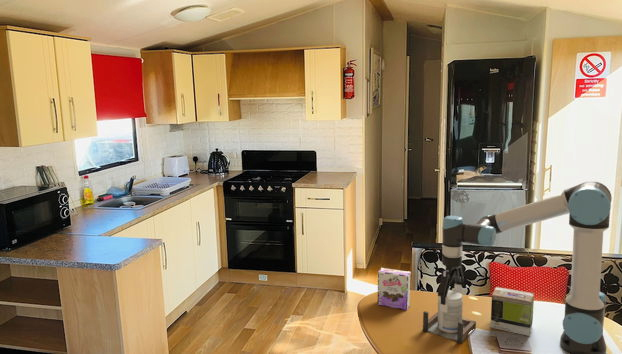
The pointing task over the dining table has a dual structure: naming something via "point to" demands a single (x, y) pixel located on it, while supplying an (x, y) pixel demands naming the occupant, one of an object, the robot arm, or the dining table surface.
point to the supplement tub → (451, 312)
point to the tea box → (512, 310)
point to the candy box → (394, 288)
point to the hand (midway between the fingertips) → (451, 305)
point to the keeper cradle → (433, 328)
